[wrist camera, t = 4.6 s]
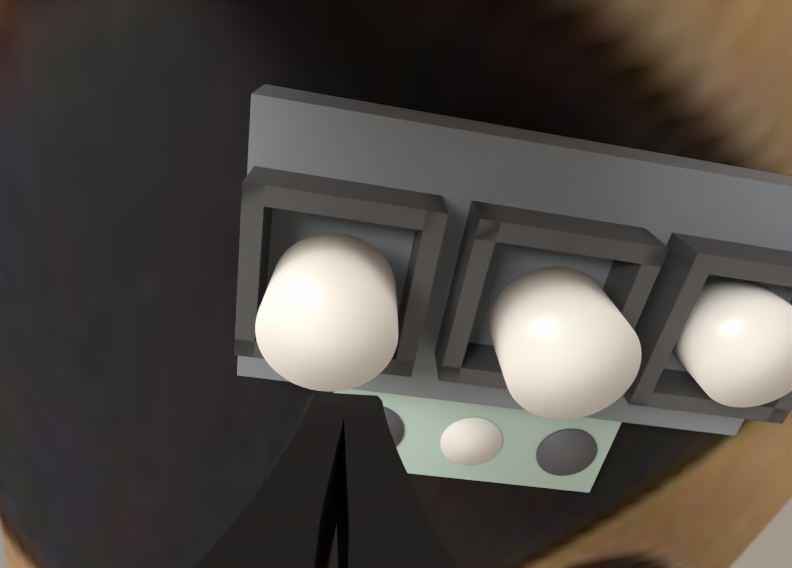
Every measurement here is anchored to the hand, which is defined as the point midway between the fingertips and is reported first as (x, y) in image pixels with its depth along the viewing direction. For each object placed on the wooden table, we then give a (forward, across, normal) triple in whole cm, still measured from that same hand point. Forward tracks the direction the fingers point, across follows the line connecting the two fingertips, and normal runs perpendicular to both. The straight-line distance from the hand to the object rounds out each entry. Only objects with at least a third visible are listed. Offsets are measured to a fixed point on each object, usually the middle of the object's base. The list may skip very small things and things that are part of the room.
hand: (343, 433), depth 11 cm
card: (+10, -5, +8) cm, 14 cm away
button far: (+7, -12, +1) cm, 14 cm away
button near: (+6, +1, 0) cm, 6 cm away
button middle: (+6, -6, 0) cm, 8 cm away
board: (+10, -6, 0) cm, 11 cm away
